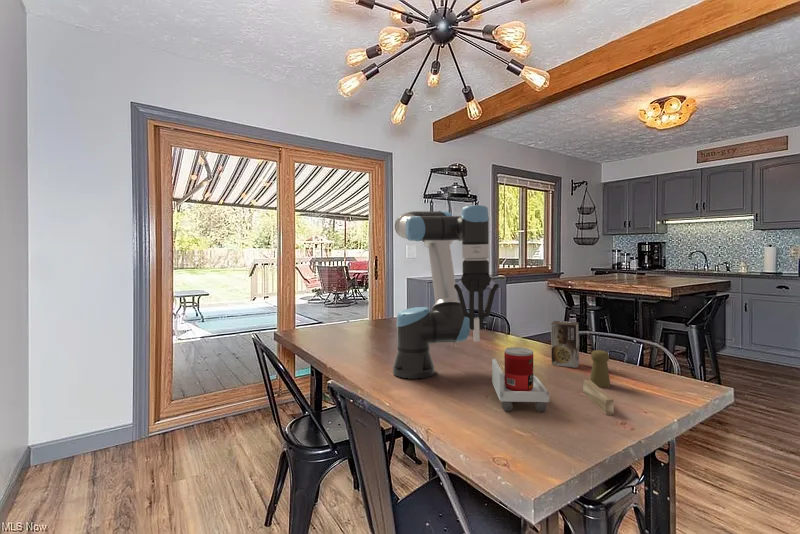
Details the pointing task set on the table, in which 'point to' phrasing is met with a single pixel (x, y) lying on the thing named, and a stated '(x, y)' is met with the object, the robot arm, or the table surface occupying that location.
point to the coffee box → (565, 343)
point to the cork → (600, 369)
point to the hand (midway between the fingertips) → (476, 340)
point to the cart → (508, 396)
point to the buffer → (598, 397)
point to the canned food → (518, 369)
